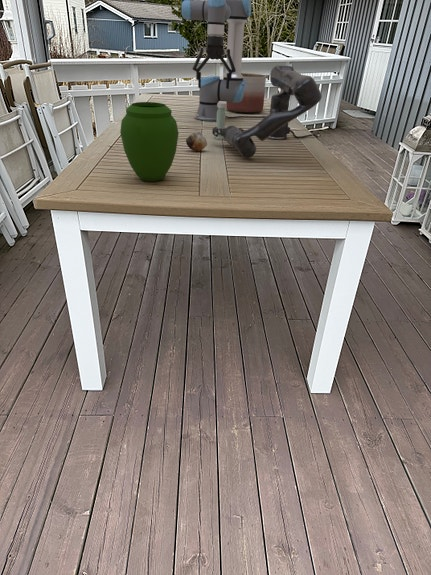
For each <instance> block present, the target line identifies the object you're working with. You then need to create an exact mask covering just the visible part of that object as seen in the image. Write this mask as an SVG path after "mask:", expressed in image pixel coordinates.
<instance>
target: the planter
mask: <svg viewBox="0 0 431 575" xmlns="http://www.w3.org/2000/svg"><path fill="white" fill-rule="evenodd" d="M241 75H242V76H243V81H245V82H246V84H245V91H244V95H243V99H242V101H241V102H234V103H233V102H225V103H226V107H225V109H226V110H228V111H229V112H232V113H238V114H259V113H261V112H262V111H264V104H265V93H266V92H265V91H266V83H267V76H266V75H264V74H261V73H250V72H249V73H248V72H241Z"/></svg>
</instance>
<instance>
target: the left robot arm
mask: <svg viewBox="0 0 431 575" xmlns="http://www.w3.org/2000/svg"><path fill="white" fill-rule="evenodd" d="M181 16H182V18H183V20H186V21H187V20H188V21H207V28H206V29H207V31H206V32H207V33H206V34H207V35H208V36H206V48H203V47H200V48H199V53H198V55H197V57H196V60H195V61H194V64H193V66H192V68H191V69H192V71H194V72H195V79H196V80H197V81H198V84H197V88H198V89H199V94H198V95H199V99H198V101H199V103H198V104H199V105H198V107H197V111H196V114H195V119H196V120H199V121H202V122H203V121H204V122H217V111H218V109H219V108H218V107H217V104H218V103H219V102H224V103H226V102H233V103H234V102H241V101H242V99H243V95H244V91H245V84H246V82H245V81H243V76H242V75H241V73H242V65H243V64H242V62H243V49H244V34H245V24H246V23H247V21H248V18H249V17H251V16H252V0H183V1H182V3H181ZM225 22H227V25H228V28H227V44H226V45H227V46H226V48H225V49H224V41H225V40H224V37H223V36H224V35H225ZM205 53H206V56H205V58H204V59H203V60H202V61H201V59H202V57H203V55H204V54H205ZM224 54H225V55H226V60H225V58H224V57H223V55H224ZM209 60H216V61H219V60H220V62H221V64H222V65H223V66H224V68H225V74H224V75H223V76H222V78H221V76H220V75H214V76H212V75H211V76H205V77H204V76H203V77H202V72H201V70H202V69H203V68H204V66H205V65H206V64H207V63H208V62H209ZM200 61H201V63H200ZM199 63H200V64H199ZM267 116H268V115H265V116H264V115H261V116H260V115H259V116H258V115H257V116H256V115H254V116H253V115H251V116H250V115H237V116H236V115H235V116H228V115H225V118H226V119H238V118H240V119H241V118H246V119H247V118H252V119H253V118H254V119H256V118H257V119H264V118H265V117H267Z"/></svg>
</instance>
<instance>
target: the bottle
mask: <svg viewBox="0 0 431 575" xmlns="http://www.w3.org/2000/svg"><path fill="white" fill-rule="evenodd" d="M225 116H226V108H219V109H218V111H217V121H216V124H215V127H217V128H226V117H225ZM218 132H219V130H218ZM215 139H216V140H225V139H224V137H223V136H219V135H218V137H216V136H215Z"/></svg>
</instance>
